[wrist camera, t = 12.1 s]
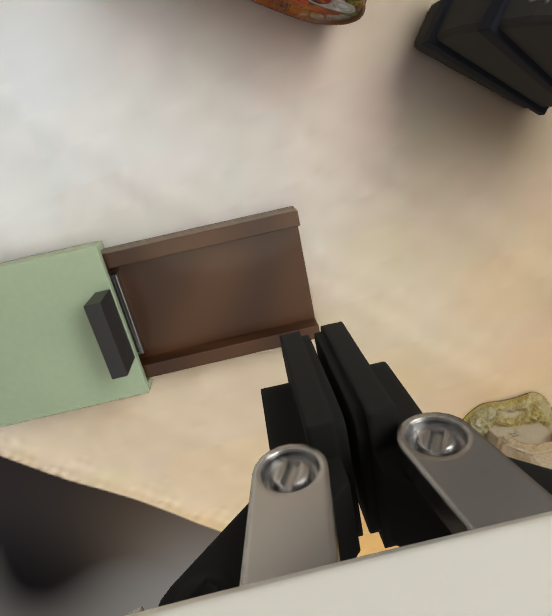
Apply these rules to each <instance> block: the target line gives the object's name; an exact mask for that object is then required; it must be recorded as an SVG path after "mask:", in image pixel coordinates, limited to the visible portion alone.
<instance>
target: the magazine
mask: <svg viewBox="0 0 552 616" xmlns="http://www.w3.org/2000/svg"><path fill="white" fill-rule="evenodd" d="M414 46H415V47H416V48H417V49H418V50H420V51H422V52H424V53H425V54H427V55H429V56H431V57H433V58H435V59H436V60H438V61H440V62H442V63H444V64H445V65H447V66H449V67H451V68H453V69H454V70H456V71H458V72H460V73H462V74H463V75H465V76H467V77H469V78H471V79H473V80H474V81H476V82H478V83H480V84H482V85H483V86H485V87H487V88H489V89H491V90H492V91H494V92H496V93H498V94H500V95H502V96H503V97H505V98H507V99H509V100H511V101H512V102H514V103H516V104H518V105H520V106H521V107H523V108H528V109H530V110H531V111H533V112H535V113H536V114H538V115H544V114H545V113H546V111H547V109H548V107H549V106H552V0H440V1H438V2H436V3H434V4H433V5H432V6H431V8H430V10H429V13H428V15H427V17H426V19H425V21H424V24H423V26H422V28H421V30H420V32H419V34H418V37H417V39H416V41H415V45H414Z"/></svg>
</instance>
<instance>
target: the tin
mask: <svg viewBox="0 0 552 616" xmlns="http://www.w3.org/2000/svg"><path fill="white" fill-rule="evenodd" d="M252 1H255V2H257V3H259V4H262V5H264V6H267V7H269V8H272V9H275V10H277V11H280V12H282V13H285V14H287V15H290V16H292V17H295V18H298V19H301V20H304V21H309V22H313V23H318V24H325V25H344V24H349V23H352V22H355V21H357V20H359V19H360V18H361V17H362V16H363V14H364V12H365V4H366V0H252Z"/></svg>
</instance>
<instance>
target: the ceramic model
mask: <svg viewBox="0 0 552 616" xmlns="http://www.w3.org/2000/svg"><path fill="white" fill-rule="evenodd" d="M464 421H465V422H467V423H468V424H470V425H471V426H472V427H473V428H474V429H476V430H477V431H478V432H479V433H480V434H481V435H483V436H484V437H485V438H486V439H487V440H488V441H489V442H491V443H492V444H493V445H494V446H495V447H496V448H498V449H499V450H500V451H501V452H502V453H503V454H505V455H506V456H507V457H510V458H514V459H517V460H521V461H524V462H528V463H531V464H535V465H538V466H542V467H545V468H549V469H552V407H551V406H550V403H549V402H548V401H547V399H546V398H545V397H544V396H542V395H539V394H537V393H534V392H533V393H528V394H526V395H523V396H521V397H517V398H513V399H509V400H505V401H500V402H491V403H485V404H482V405H480V406H478V407H477V408H475V409H474V410H472V411H471V412H470V413H469V414H468V415H467V416H466V417H465V418H464Z"/></svg>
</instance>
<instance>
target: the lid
mask: <svg viewBox="0 0 552 616" xmlns="http://www.w3.org/2000/svg"><path fill="white" fill-rule="evenodd" d="M103 248H104V245H103V242H102V241H97V242H92V243H88V244H83V245H79V246H74V247H70V248H66V249H61V250H57V251H52V252H48V253H43V254H39V255H34V256H30V257H26V258H21V259H17V260H12V261H8V262H3V263H0V427H3V426H7V425H12V424H16V423H20V422H25V421H29V420H33V419H37V418H42V417H46V416H50V415H54V414H59V413H63V412H67V411H71V410H76V409H80V408H84V407H89V406H93V405H97V404H101V403H106V402H110V401H114V400H118V399H123V398H127V397H131V396H135V395H140V394H144V393H148V392H150V388H151V385H152V379H151V377H149V378H146V375H145V373H144V370H143V367H142V364H141V362H140V359H139V356H138V353H137V351H136V348H135V345H134V342H133V340H132V337H131V334H130V331H129V329H128V326H127V323H126V320H125V318H124V315H123V312H122V309H121V307H120V304H119V301H118V298H117V296H116V293H115V290H114V287H113V285H112V282H111V279H110V276H109V274H108V271H107V268H106V265H105V263H104V260H103V257H102V254H101V252H100V251H101V250H102V249H103Z"/></svg>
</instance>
